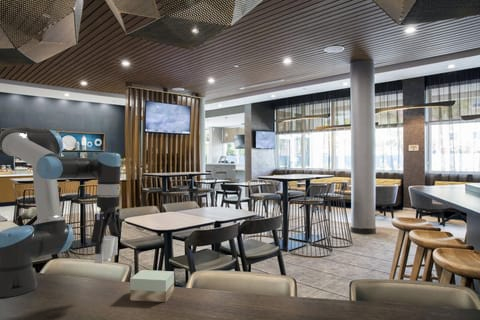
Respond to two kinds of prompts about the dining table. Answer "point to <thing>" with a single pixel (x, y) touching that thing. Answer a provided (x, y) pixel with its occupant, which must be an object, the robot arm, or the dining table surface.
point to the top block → (152, 280)
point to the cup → (108, 247)
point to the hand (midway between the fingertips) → (106, 258)
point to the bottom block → (151, 295)
